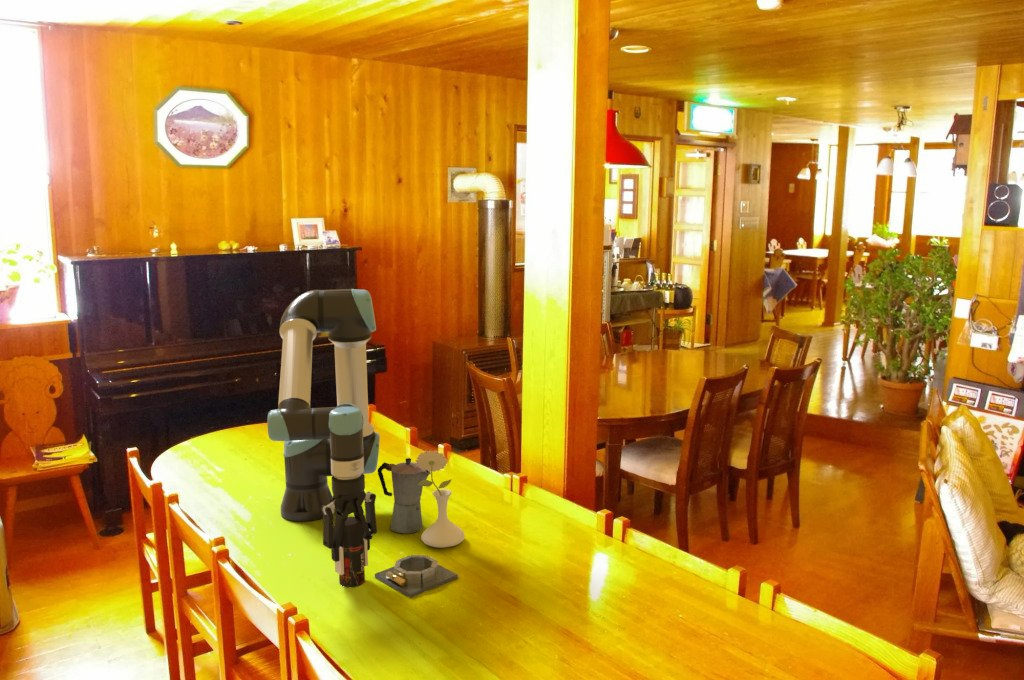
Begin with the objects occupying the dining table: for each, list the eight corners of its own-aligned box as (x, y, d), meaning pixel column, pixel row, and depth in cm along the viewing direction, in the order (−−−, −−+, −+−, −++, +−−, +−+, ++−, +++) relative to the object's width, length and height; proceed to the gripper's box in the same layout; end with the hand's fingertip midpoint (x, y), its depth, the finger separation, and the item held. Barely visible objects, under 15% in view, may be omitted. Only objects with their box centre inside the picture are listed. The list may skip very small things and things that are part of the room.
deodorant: (340, 576, 199) (338, 517, 196) (366, 575, 199) (363, 516, 197) (337, 588, 193) (335, 527, 190) (363, 586, 193) (361, 526, 191)
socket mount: (374, 577, 198) (374, 563, 197) (421, 559, 208) (421, 546, 207) (410, 598, 188) (409, 583, 188) (457, 578, 198) (457, 564, 197)
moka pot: (426, 537, 221) (425, 465, 218) (372, 532, 224) (369, 461, 221) (437, 523, 230) (435, 454, 227) (384, 519, 233) (382, 450, 230)
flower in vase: (471, 537, 221) (470, 446, 217) (454, 554, 211) (453, 460, 206) (426, 530, 225) (424, 442, 221) (408, 547, 215) (405, 454, 210)
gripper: (320, 488, 182) (325, 586, 186) (391, 468, 195) (393, 561, 199) (303, 480, 188) (307, 575, 192) (372, 461, 201) (375, 551, 205)
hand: (351, 568), depth 196 cm, fingers closed on deodorant, 6 cm apart
